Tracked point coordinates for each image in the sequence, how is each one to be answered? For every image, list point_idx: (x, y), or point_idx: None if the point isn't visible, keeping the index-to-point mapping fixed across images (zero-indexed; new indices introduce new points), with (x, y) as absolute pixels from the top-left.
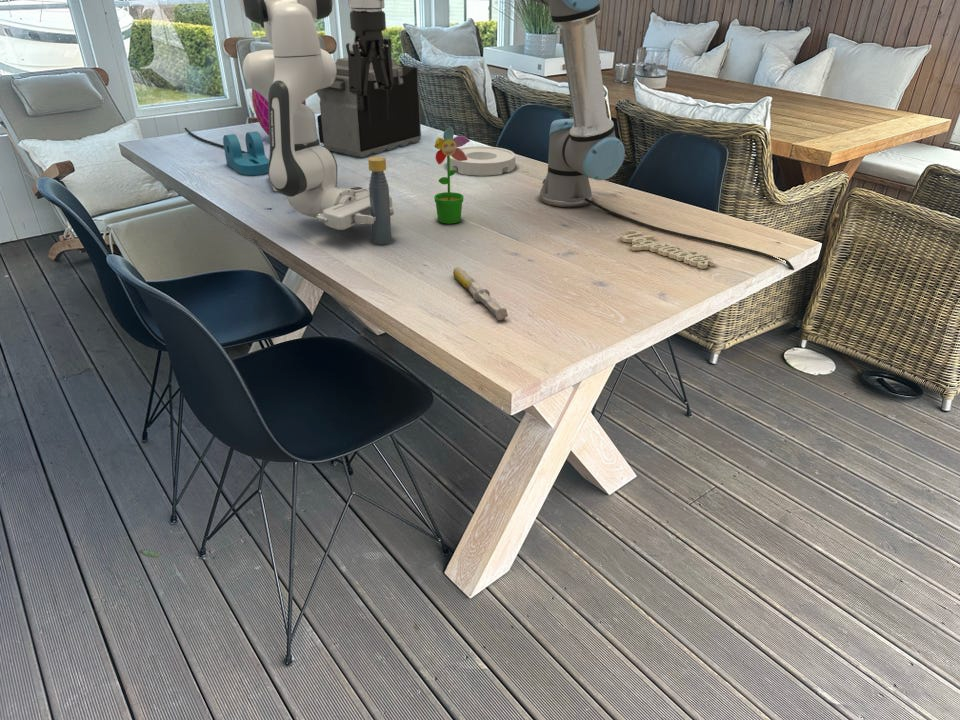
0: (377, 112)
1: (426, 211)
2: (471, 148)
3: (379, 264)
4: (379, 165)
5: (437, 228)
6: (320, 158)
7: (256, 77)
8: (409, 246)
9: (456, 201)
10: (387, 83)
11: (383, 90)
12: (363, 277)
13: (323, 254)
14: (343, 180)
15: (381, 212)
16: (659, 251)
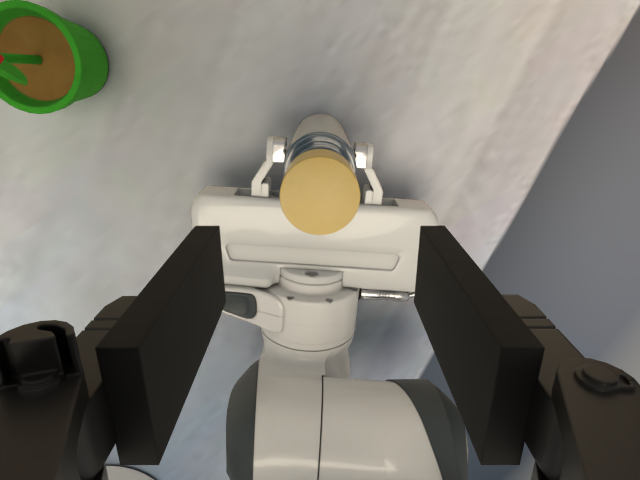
0: (216, 324)
1: (56, 169)
2: None
3: (462, 47)
4: (344, 162)
5: (149, 58)
6: (318, 431)
7: None
8: (313, 50)
9: (45, 9)
10: (19, 417)
11: (128, 384)
12: (554, 31)
13: (459, 213)
14: None
15: (343, 133)
16: None
